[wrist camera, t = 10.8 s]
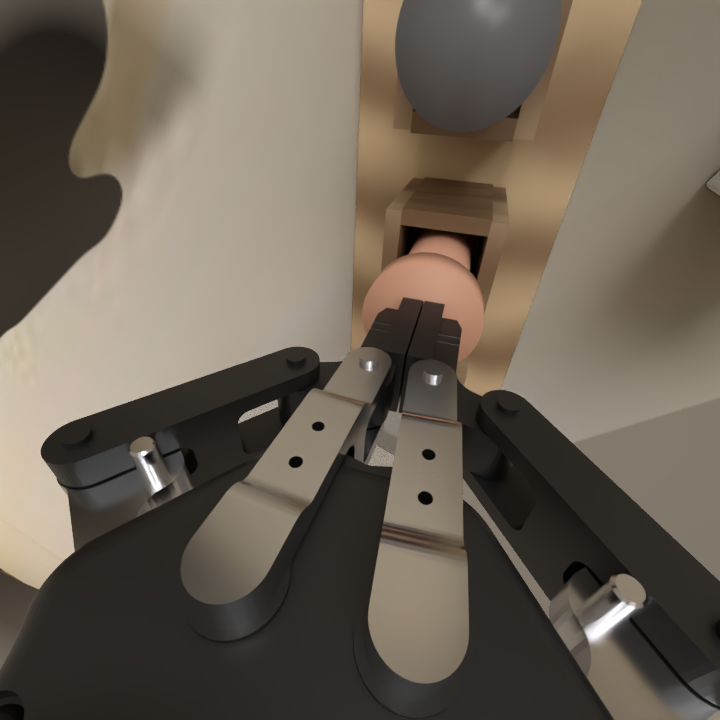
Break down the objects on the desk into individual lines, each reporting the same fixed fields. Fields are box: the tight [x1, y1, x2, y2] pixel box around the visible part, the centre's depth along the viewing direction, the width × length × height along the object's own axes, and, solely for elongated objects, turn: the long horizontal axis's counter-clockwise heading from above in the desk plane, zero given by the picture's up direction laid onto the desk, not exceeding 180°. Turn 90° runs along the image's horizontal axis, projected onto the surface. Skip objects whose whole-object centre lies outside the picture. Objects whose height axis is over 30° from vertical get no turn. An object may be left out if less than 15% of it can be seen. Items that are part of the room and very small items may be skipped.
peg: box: [395, 0, 561, 132], centre depth 14 cm, size 4×4×9 cm
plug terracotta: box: [362, 228, 484, 363], centre depth 17 cm, size 4×4×9 cm
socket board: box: [351, 0, 642, 396], centre depth 20 cm, size 25×12×8 cm, turn 177°
